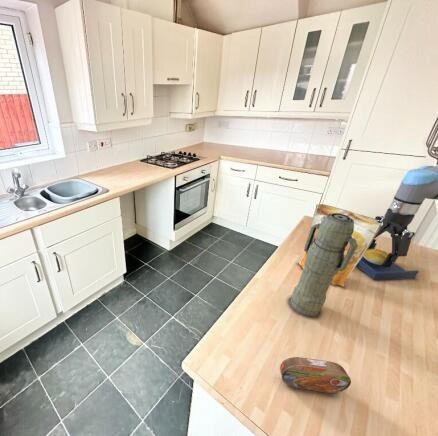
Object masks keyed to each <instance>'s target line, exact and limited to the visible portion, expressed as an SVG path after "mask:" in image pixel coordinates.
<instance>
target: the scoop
mask: <svg viewBox="0 0 438 436" xmlns="http://www.w3.org/2000/svg"><path fill="white" fill-rule="evenodd" d="M376 247H377V243H376V242H375V244H374V245H373V247H372V249H376ZM356 267H358V268H359V269H360V270H361V271H363V273H365V274H366V275H368V276H369V277H370V278H371V279H372V280H374V281H384V280H387V281H388V280H407V279H408V280H409V279H410V280H411V279H416V278H417V276H418V274H419V273H420V270H405V268H402V267H401V266H399V265H398V264H396V263H395V262H393V263H392V265H391V266H390V267H382V265H376V264H373V263H371V262H369V261H367V260H366V259H365V258H364V257H362V258H361V259H360V261H359V262H358V264H357V265H356Z"/></svg>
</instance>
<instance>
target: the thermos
mask: <svg viewBox="0 0 438 436" xmlns="http://www.w3.org/2000/svg"><path fill="white" fill-rule="evenodd" d="M316 228H317V229H319V230H318V232H317V235H316V239H315V240H314V243H313V244H312V245H311V242H312V239H313V236H314V234H315V231H316ZM309 231H310V233H309V232H308V235H309V236H307V239H306V242H305V245H304V250H303V252H306V254H307V255H306V258H305V261H304V263H305V266H304V269H303V268H302V272H301V275H300V277H299V279H298V283H297V285H296V286H295V287H294V289H293V291H292V293H291V298H290V301H289V303H290V306H291V308H292V309H293V310H294V311H295V312H296V313H298V314H300V315H302V316H304V317H309V318H314V317H317V316H318V315H319V314H320V311H321V310H322V308H323V306H324V304H325V302H326V299H327V293H328V290H329V289H330V286H331V285H332V284H331V282H332V279H333V277H334V275H336V274H337V273H338V271H341V270H345V269H346V268H347V266H348V263H349V261H350V259H351V258H352V256H353V254H354V252H355V250H356V248H357V246H358V245H357V242H356V240H355V239H353V238H352V234H353V231H354V220H353V219H352V218H350V217H349V216H347V215H344V214H340V213H331V214H328V215H327V216H326V217H325V218H324V219H323V220H322V222H321V224H320V223H318V224H316V225H314V226H313V227H312V228H311V230H310V229H309ZM348 242H349V244H350V247H349V249H348V252H347V254H346V256H345V258H344V251H345V247H346V246H347V245H348ZM310 245H311V246H310Z"/></svg>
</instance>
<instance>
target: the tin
mask: <svg viewBox="0 0 438 436" xmlns="http://www.w3.org/2000/svg"><path fill="white" fill-rule="evenodd" d="M279 373H280V376H281V379H282V381H283V383H284V384H285V385H287V386H289V387H292V388H295V389H301V390H309V391H314V392H320V393H327V394H337V393H341V392H343V391H346V390H347V389H348V388H350V386H351V384H352V379H351V377H350V375H349V374H348V372H347V371H346V369H345V368H344V367H343V366H342V365H341V364H339V363H337V362H335V361H329V360H321V359H314V358H307V357H300V356H294V357H293V356H292V357H289V358H286V359H284V360H283V361H282V362H281V364H280V365H279Z"/></svg>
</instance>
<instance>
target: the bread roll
mask: <svg viewBox="0 0 438 436" xmlns="http://www.w3.org/2000/svg"><path fill="white" fill-rule="evenodd" d="M388 254H389V253H387V252H386V251H385V250H382V249H380V248H374V249H369V250H367V251H366V252H365V253H364V255H363V257H364V258H365V259H366V260H367V261H369V262H371V263H373V264H376V265H383V263H384V261H385V259H386V258H387V256H388Z"/></svg>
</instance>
